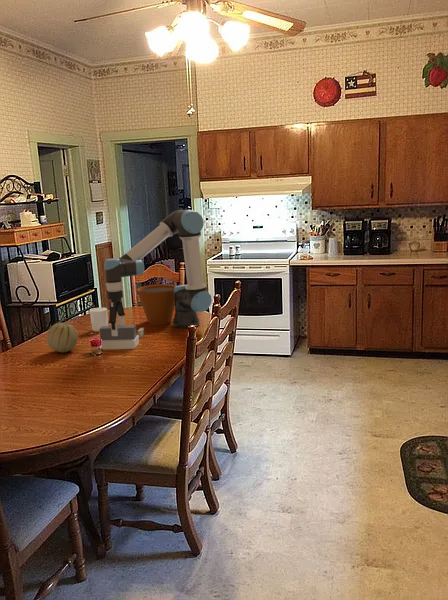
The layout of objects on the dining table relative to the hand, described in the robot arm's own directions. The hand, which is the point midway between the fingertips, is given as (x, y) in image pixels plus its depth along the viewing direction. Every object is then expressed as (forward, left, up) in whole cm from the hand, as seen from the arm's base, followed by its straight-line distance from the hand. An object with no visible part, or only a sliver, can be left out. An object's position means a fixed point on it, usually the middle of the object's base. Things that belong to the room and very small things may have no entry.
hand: (118, 332), depth 264 cm
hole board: (0, 0, -7) cm, 7 cm away
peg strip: (0, 0, -7) cm, 7 cm away
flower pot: (-12, -48, -7) cm, 50 cm away
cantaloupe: (+26, +7, -8) cm, 28 cm away
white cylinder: (+19, -32, -8) cm, 38 cm away
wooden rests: (0, -16, -7) cm, 18 cm away
